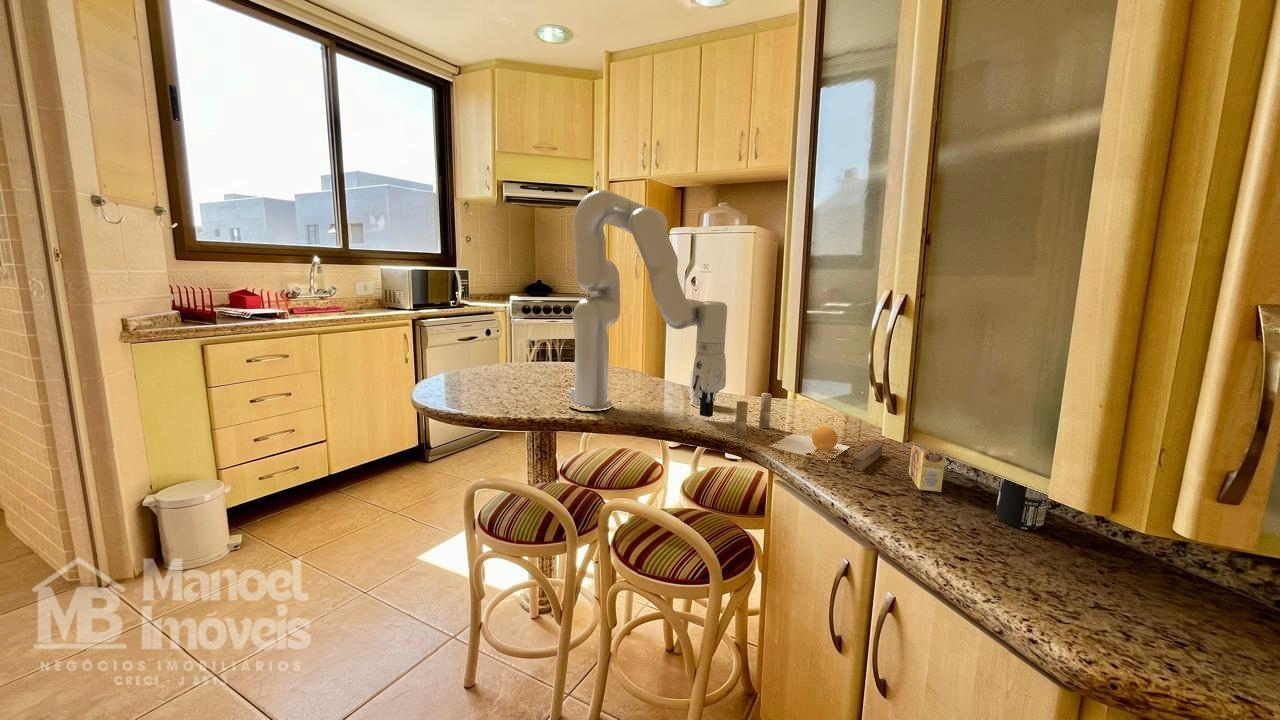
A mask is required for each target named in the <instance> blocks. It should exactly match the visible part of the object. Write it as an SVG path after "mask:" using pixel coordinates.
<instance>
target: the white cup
mask: <svg viewBox="0 0 1280 720" xmlns="http://www.w3.org/2000/svg"><path fill="white" fill-rule="evenodd" d="M689 372H690V375H689V379H690V380H689V381H690V383H689V392H690V394H689V395H690V405H691V404H693V405H696V406H700V401H699V397H695V396H694V394H695V391H694V390H693V388H692V376H693V370H692V371H689ZM712 402H713V401H712Z"/></svg>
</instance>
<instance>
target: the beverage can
mask: <svg viewBox="0 0 1280 720" xmlns="http://www.w3.org/2000/svg"><path fill="white" fill-rule="evenodd" d="M997 496H998V497H997V502H996V507H995V508H996V509H995V514H996V516H997V517H998V519H999V520H1000V521H1001V522H1002V523H1004V524H1007V525H1008V526H1012V527H1015V528H1017V529H1022V530H1029V531H1033V530H1038V529H1039V528H1041V527H1043V526H1044V524H1045V518H1046V512H1047V508H1048V507H1047V506H1048V501H1049V497H1047V496H1046V495H1044V494H1042V493H1039V492H1036V491H1033V490H1031V489H1029V488H1027V487H1024V486H1021V485H1018V484H1016V483H1013V482H1011V481H1008V480H1006V479H1003V478H1001V477H1000V484H999V490H998V495H997Z"/></svg>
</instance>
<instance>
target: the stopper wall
mask: <svg viewBox="0 0 1280 720" xmlns="http://www.w3.org/2000/svg"><path fill="white" fill-rule="evenodd" d="M883 446H884V445H883V444H881V443H879V442H878V443H876V442H872V443H871V444H869V445H868V446H867V447H866V448H864V449H863V450H861V451H860V452H858V454H856V455H854V456H853V457H852V464H851V470H853V469H855V470H854V471H857V470H858V472H861V471H862V472H863V471H864V470H865V469H866V467H867V468H868V467H869V466H871V464H872V463H874V462H875V461H876V460H877V459H879V458H880V457H881V456H883V455H882V453H883Z"/></svg>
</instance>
